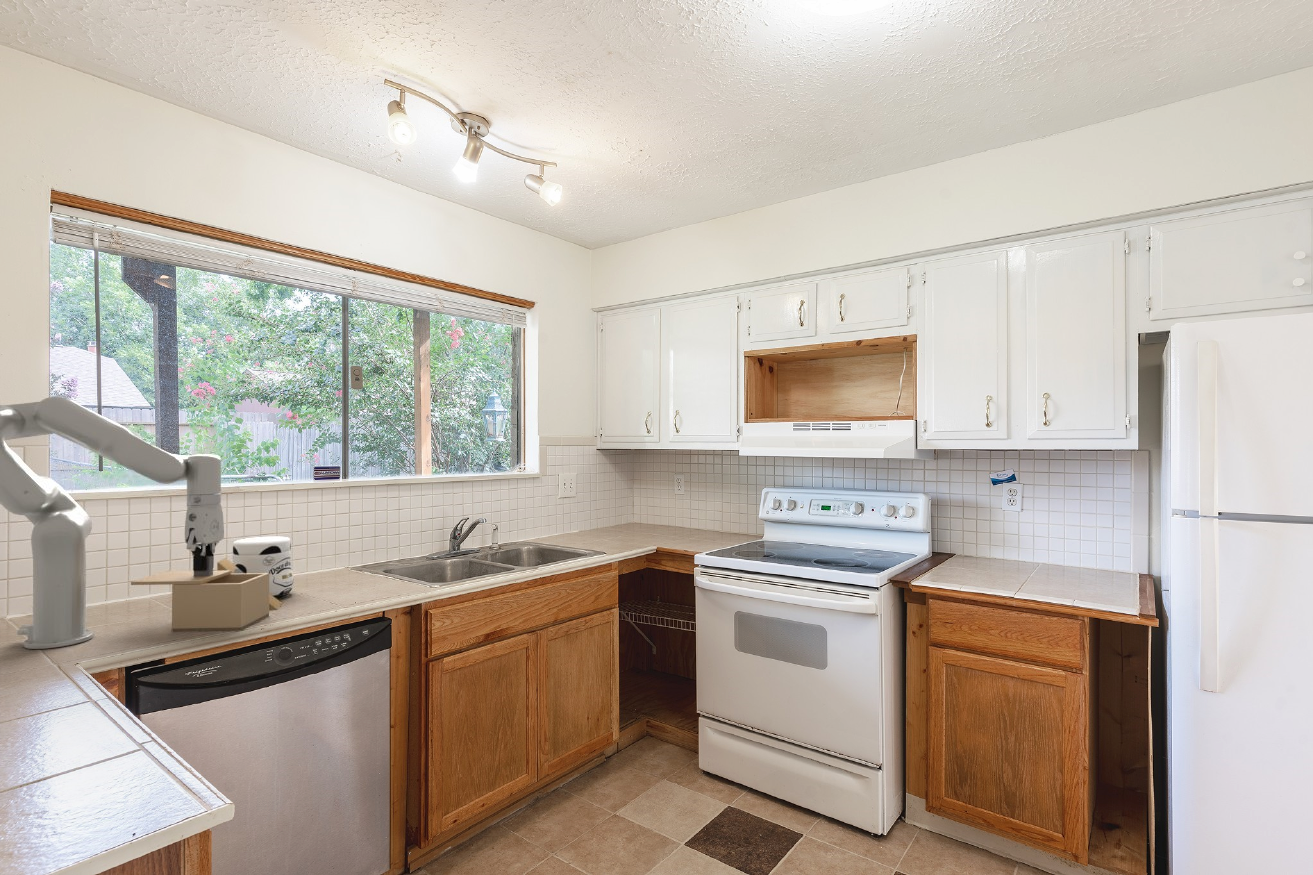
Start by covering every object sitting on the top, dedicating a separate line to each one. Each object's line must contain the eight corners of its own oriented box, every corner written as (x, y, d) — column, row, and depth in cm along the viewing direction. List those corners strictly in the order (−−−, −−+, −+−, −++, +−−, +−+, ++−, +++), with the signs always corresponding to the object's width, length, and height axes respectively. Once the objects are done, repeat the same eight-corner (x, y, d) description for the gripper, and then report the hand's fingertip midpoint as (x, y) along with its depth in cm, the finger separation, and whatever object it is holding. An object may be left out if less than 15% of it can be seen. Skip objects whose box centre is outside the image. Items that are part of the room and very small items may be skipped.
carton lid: (130, 584, 167) (131, 562, 167) (167, 573, 181) (167, 552, 181) (200, 584, 168) (200, 561, 168) (231, 573, 182) (232, 552, 182)
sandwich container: (278, 610, 190) (279, 558, 190) (216, 615, 184) (216, 562, 184) (283, 603, 198) (283, 553, 198) (224, 608, 192) (224, 557, 192)
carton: (171, 631, 168) (172, 584, 168) (205, 617, 182) (205, 573, 182) (241, 630, 169) (241, 583, 169) (269, 616, 183) (269, 573, 183)
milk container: (296, 599, 202) (296, 541, 203) (229, 607, 193) (230, 546, 193) (290, 588, 217) (291, 534, 217) (228, 595, 207) (228, 538, 207)
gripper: (200, 503, 167) (199, 575, 167) (235, 498, 183) (235, 563, 183) (169, 503, 167) (168, 575, 167) (207, 498, 183) (206, 564, 183)
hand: (203, 569), depth 175 cm, fingers closed
